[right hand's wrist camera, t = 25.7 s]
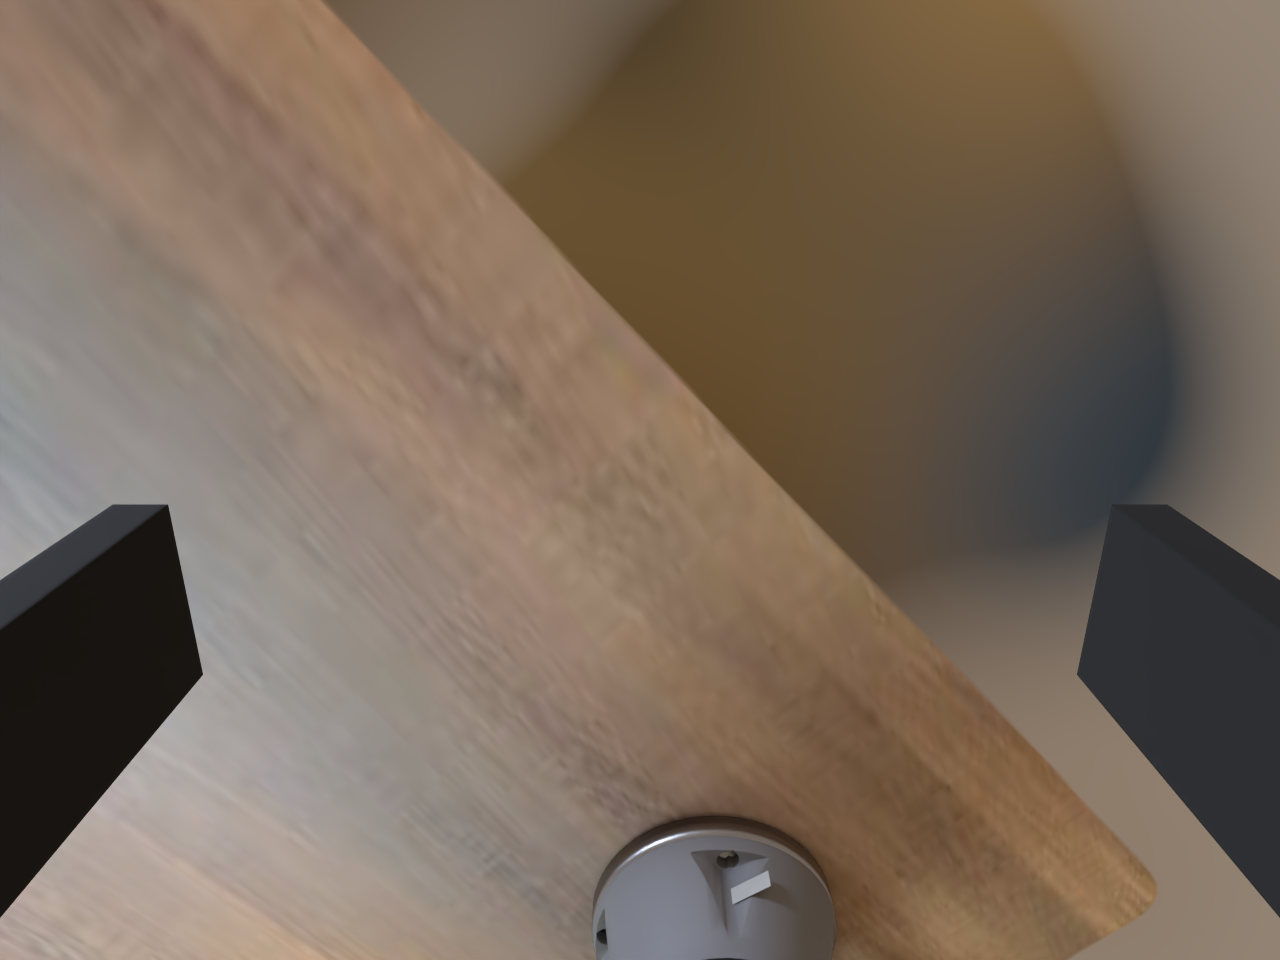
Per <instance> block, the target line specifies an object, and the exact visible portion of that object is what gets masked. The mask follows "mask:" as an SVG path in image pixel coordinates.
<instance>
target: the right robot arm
mask: <svg viewBox="0 0 1280 960" xmlns="http://www.w3.org/2000/svg"><path fill="white" fill-rule="evenodd" d="M202 675H203V673H202V668H201V663H200V658H199V653H198V648H197V643H196V638H195V634H194V629H193V624H192V619H191V614H190V609H189V604H188V600H187V595H186V590H185V585H184V580H183V575H182V570H181V566H180V561H179V556H178V551H177V546H176V541H175V536H174V532H173V527H172V522H171V517H170V512H169V507H168V505H112V506H110V507H109V508H107V509H106V510H104V511H103V512H101V513H100V514H98V515H97V516H95V517H94V518H92V519H91V520H89V521H88V522H86V523H85V524H83V525H82V526H80V527H79V528H77V529H76V530H74V531H73V532H71V533H70V534H68V535H67V536H65V537H64V538H62V539H61V540H59V541H58V542H57V543H55V544H54V545H52V546H51V547H49V548H48V549H46V550H45V551H43V552H42V553H40V554H39V555H37V556H36V557H34V558H33V559H31V560H30V561H28V562H27V563H25V564H24V565H22V566H21V567H19V568H18V569H16V570H15V571H13V572H12V573H10V574H9V575H7V576H6V577H4V578H3V579H1V580H0V917H1V916H2V915H3V914H4V913H5V911H6V910H7V909H8V908H9V907H10V905H11V904H12V903H13V902H14V901H15V899H16V898H17V897H18V896H19V895H20V893H21V892H22V891H23V890H24V889H25V887H26V886H27V885H28V884H29V883H30V881H31V880H32V879H33V878H34V877H35V875H36V874H37V873H38V872H39V871H40V869H41V868H42V867H43V866H44V865H45V863H46V862H47V861H48V860H49V859H50V857H51V856H52V855H53V854H54V853H55V851H56V850H57V849H58V848H59V847H60V845H61V844H62V843H63V842H64V841H65V839H66V838H67V837H68V836H69V835H70V833H71V832H72V831H73V830H74V829H75V827H76V826H77V825H78V824H79V823H80V821H81V820H82V819H83V818H84V817H85V815H86V814H87V813H88V812H89V811H90V809H91V808H92V807H93V806H94V805H95V803H96V802H97V801H98V800H99V799H100V797H101V796H102V795H103V794H104V793H105V791H106V790H107V789H108V788H109V787H110V785H111V784H112V783H113V782H114V781H115V779H116V778H117V777H118V776H119V775H120V773H121V772H122V771H123V770H124V769H125V767H126V766H127V765H128V764H129V763H130V761H131V760H132V759H133V758H134V757H135V755H136V754H137V753H138V752H139V751H140V749H141V748H142V747H143V746H144V745H145V743H146V742H147V741H148V740H149V739H150V738H151V736H152V735H153V734H154V733H155V732H156V730H157V729H158V728H159V727H160V726H161V724H162V723H163V722H164V721H165V720H166V718H167V717H168V716H169V715H170V714H171V712H172V711H173V710H174V709H175V708H176V706H177V705H178V704H179V703H180V702H181V700H182V699H183V698H184V697H185V696H186V694H187V693H188V692H189V691H190V690H191V688H192V687H193V686H194V685H195V684H196V682H197V681H198V680H199V679H200V678H201V676H202ZM1077 675H1078V676H1079V678H1080V679H1081V680H1082V681H1083V682H1084V684H1085V685H1086V686H1087V687H1088V688H1089V690H1090V691H1091V692H1092V693H1093V694H1094V695H1095V697H1096V698H1097V699H1098V700H1099V702H1100V703H1101V704H1102V705H1103V706H1104V708H1105V709H1106V710H1107V711H1108V712H1109V714H1110V715H1111V716H1112V717H1113V718H1114V719H1115V721H1116V722H1117V723H1118V724H1119V726H1120V727H1121V728H1122V729H1123V730H1124V731H1125V733H1126V734H1127V735H1128V736H1129V738H1130V739H1131V740H1132V741H1133V742H1134V743H1135V745H1136V746H1137V747H1138V748H1139V749H1140V751H1141V752H1142V753H1143V754H1144V755H1145V757H1146V758H1147V759H1148V760H1149V761H1150V763H1151V764H1152V765H1153V766H1154V767H1155V769H1156V770H1157V771H1158V772H1159V773H1160V775H1161V776H1162V777H1163V778H1164V779H1165V781H1166V782H1167V783H1168V784H1169V785H1170V787H1171V788H1172V789H1173V790H1174V791H1175V793H1176V794H1177V795H1178V796H1179V797H1180V799H1181V800H1182V801H1183V802H1184V803H1185V805H1186V806H1187V807H1188V808H1189V809H1190V811H1191V812H1192V813H1193V814H1194V815H1195V817H1196V818H1197V819H1198V820H1199V821H1200V823H1201V824H1202V825H1203V826H1204V827H1205V829H1206V830H1207V831H1208V832H1209V833H1210V835H1211V836H1212V837H1213V838H1214V839H1215V841H1216V842H1217V843H1218V844H1219V845H1220V847H1221V848H1222V849H1223V850H1224V851H1225V853H1226V854H1227V855H1228V856H1229V857H1230V859H1231V860H1232V861H1233V862H1234V863H1235V865H1236V866H1237V867H1238V868H1239V869H1240V871H1241V872H1242V873H1243V874H1244V875H1245V877H1246V878H1247V879H1248V880H1249V881H1250V883H1251V884H1252V885H1253V886H1254V887H1255V889H1256V890H1257V891H1258V892H1259V893H1260V895H1261V896H1262V897H1263V898H1264V899H1265V901H1266V902H1267V903H1268V904H1269V905H1270V906H1271V908H1272V909H1273V910H1274V911H1275V913H1276V914H1277V915H1278V916H1279V917H1280V580H1279V579H1277V578H1276V577H1274V576H1273V575H1271V574H1270V573H1268V572H1267V571H1265V570H1264V569H1262V568H1261V567H1259V566H1258V565H1256V564H1255V563H1253V562H1252V561H1250V560H1249V559H1247V558H1246V557H1244V556H1243V555H1241V554H1240V553H1238V552H1237V551H1235V550H1234V549H1232V548H1231V547H1229V546H1228V545H1226V544H1225V543H1223V542H1222V541H1220V540H1219V539H1218V538H1216V537H1215V536H1213V535H1212V534H1210V533H1209V532H1207V531H1206V530H1204V529H1203V528H1201V527H1200V526H1198V525H1197V524H1195V523H1194V522H1192V521H1191V520H1189V519H1188V518H1186V517H1185V516H1183V515H1182V514H1180V513H1179V512H1177V511H1176V510H1174V509H1173V508H1171V507H1170V506H1168V505H1112V507H1111V512H1110V517H1109V522H1108V527H1107V532H1106V536H1105V541H1104V546H1103V551H1102V556H1101V561H1100V566H1099V570H1098V575H1097V580H1096V585H1095V590H1094V595H1093V600H1092V604H1091V609H1090V614H1089V619H1088V624H1087V629H1086V634H1085V638H1084V643H1083V648H1082V653H1081V658H1080V663H1079V668H1078V673H1077ZM835 938H836V916H835V910H834V906H833V902H832V898H831V894H830V890H829V886H828V883H827V880H826V878H825V875H824V873H823V871H822V869H821V867H820V866H819V864H818V863H817V861H816V860H815V859H814V858H813V856H812V855H811V854H810V853H809V852H808V851H807V850H806V849H805V848H804V847H803V846H802V845H801V844H799V843H798V842H797V841H795V840H794V839H793V838H791V837H789V836H788V835H786V834H784V833H783V832H781V831H779V830H777V829H775V828H772V827H770V826H767V825H764V824H762V823H758V822H755V821H751V820H746V819H741V818H734V817H723V816H709V817H697V818H689V819H684V820H679V821H676V822H672V823H669V824H666V825H663V826H660V827H658V828H655V829H653V830H651V831H649V832H647V833H645V834H643V835H642V836H640V837H638V838H637V839H635V840H634V841H632V842H631V843H630V844H628V845H627V846H626V847H625V848H623V849H622V850H621V851H620V852H619V853H618V854H617V855H616V856H615V857H614V858H613V860H612V861H611V862H610V863H609V865H608V866H607V868H606V869H605V871H604V872H603V874H602V876H601V878H600V880H599V883H598V885H597V888H596V892H595V896H594V902H593V917H592V939H593V945H594V949H595V954H596V957H597V960H832V953H833V949H834V945H835Z"/></svg>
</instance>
